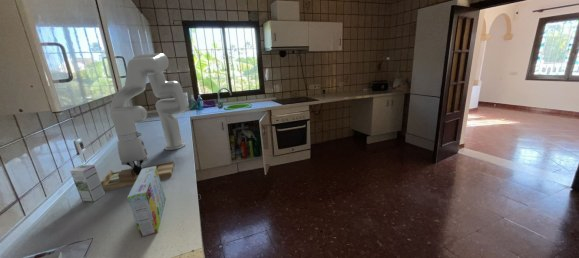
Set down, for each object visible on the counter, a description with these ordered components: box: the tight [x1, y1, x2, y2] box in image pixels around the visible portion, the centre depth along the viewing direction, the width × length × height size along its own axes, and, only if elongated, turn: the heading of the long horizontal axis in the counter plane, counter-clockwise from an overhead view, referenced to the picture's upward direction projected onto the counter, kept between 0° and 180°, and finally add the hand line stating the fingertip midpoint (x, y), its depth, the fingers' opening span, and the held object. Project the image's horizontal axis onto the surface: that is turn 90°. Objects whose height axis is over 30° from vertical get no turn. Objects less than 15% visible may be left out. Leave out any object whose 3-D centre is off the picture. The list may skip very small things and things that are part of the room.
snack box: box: [126, 166, 167, 238], centre depth 82 cm, size 21×6×15 cm, turn 21°
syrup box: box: [69, 164, 106, 203], centre depth 97 cm, size 6×6×14 cm
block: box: [118, 168, 136, 182], centre depth 109 cm, size 5×5×4 cm
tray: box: [100, 160, 175, 192], centre depth 114 cm, size 14×28×4 cm, turn 110°
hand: (138, 173), depth 110 cm, fingers closed
